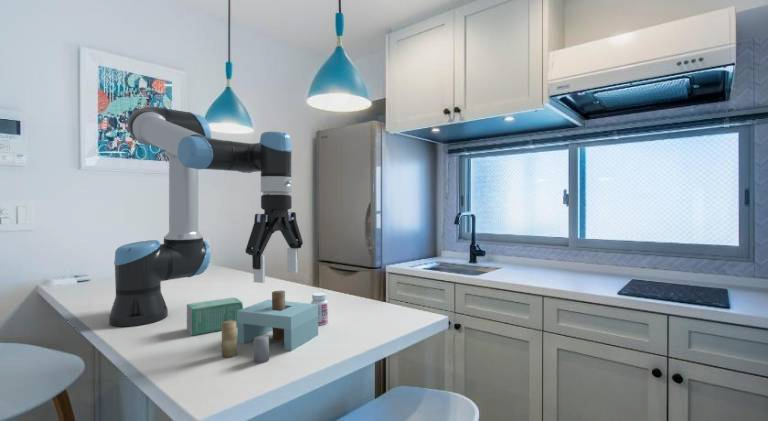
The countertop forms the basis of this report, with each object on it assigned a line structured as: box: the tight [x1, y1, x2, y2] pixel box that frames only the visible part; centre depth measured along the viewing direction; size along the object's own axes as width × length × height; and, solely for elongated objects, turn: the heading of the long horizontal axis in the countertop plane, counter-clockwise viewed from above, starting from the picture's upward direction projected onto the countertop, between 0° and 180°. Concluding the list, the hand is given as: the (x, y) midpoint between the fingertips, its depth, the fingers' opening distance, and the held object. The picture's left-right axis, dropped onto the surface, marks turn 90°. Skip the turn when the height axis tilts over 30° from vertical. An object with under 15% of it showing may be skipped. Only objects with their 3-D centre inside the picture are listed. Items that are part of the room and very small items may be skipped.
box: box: [186, 297, 244, 337], centre depth 111 cm, size 7×14×8 cm, turn 127°
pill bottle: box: [310, 292, 329, 326], centre depth 114 cm, size 5×5×8 cm
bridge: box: [237, 299, 319, 352], centre depth 102 cm, size 16×12×8 cm
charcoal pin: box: [253, 335, 270, 364], centre depth 88 cm, size 3×3×5 cm
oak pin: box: [221, 321, 238, 359], centre depth 91 cm, size 3×3×8 cm
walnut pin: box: [271, 290, 286, 342], centre depth 102 cm, size 3×3×12 cm
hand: (276, 277), depth 102 cm, fingers open, 13 cm apart
